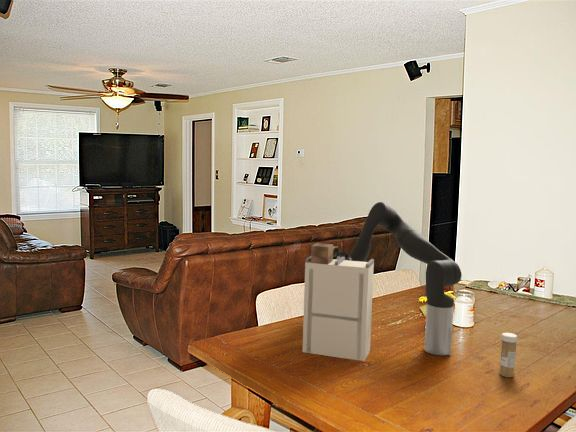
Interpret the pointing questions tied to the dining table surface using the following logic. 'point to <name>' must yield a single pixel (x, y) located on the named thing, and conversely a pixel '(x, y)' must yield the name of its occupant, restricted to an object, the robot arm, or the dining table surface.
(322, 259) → the walnut bar
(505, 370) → the sprinkles bottle
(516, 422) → the dining table surface
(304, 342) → the off-white tall box
